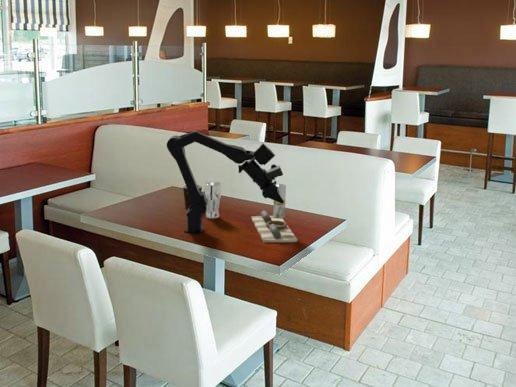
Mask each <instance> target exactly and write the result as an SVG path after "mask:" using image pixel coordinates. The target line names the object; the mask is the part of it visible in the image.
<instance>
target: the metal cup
mask: <svg viewBox="0 0 516 387" xmlns="http://www.w3.org/2000/svg"><path fill="white" fill-rule="evenodd" d="M276 186H277V187H278V190H277V191H278V193H279V194H280V196H281V198H282V199H283V201H284V203H280V202H277V201H275V200H273V209H272V210H273V211H272V212H273V213H272V216H273V217H274V218H282V219H284V218H285V210H286V209H285V208H286V200H287V199H286V191H287V185H286V184H283V183H276Z"/></svg>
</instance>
